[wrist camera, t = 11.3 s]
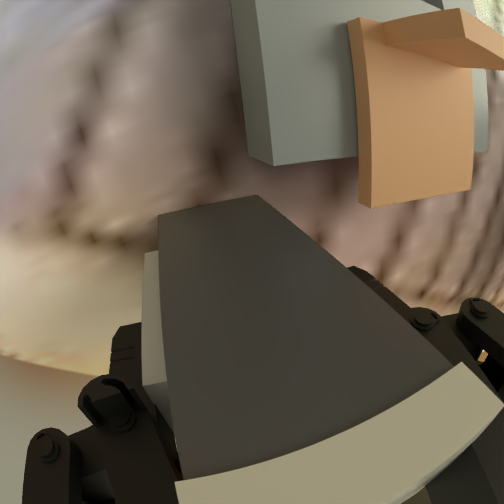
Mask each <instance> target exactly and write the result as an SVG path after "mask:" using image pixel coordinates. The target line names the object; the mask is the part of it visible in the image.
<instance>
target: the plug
mask: <svg viewBox="0 0 504 504" xmlns="http://www.w3.org/2000/svg"><path fill="white" fill-rule="evenodd" d="M158 262H159V290H160V309H161V324H162V336H163V348H164V358H165V368H166V376H167V385H168V393H169V400H170V407H171V414H172V420H173V427H174V433H175V439H176V444H177V450H178V455H179V460H180V465H181V470H182V475H183V479H184V480H183V481H177V482H175V487H176V492H177V497H178V501H179V504H401V503H402V502H404V501H405V500H407V499H408V498H410V497H411V496H413V495H414V494H416V493H417V492H418V491H420V490H421V489H422V488H423V487H425V485H427V484H428V483H429V482H430V481H432V480H433V479H434V478H435V477H436V476H437V475H439V474H440V473H441V472H442V471H443V470H444V469H445V468H447V467H448V466H449V465H450V464H451V463H452V462H453V461H454V460H455V459H456V458H457V457H458V456H459V455H460V454H461V453H462V452H463V451H464V450H465V449H466V448H467V447H468V446H469V445H470V444H471V443H472V442H473V441H475V440H476V439H477V438H478V436H479V435H480V434H481V433H482V432H483V431H484V430H485V429H486V428H487V426H488V425H489V424H490V423H491V422H492V421H493V419H494V418H495V417H496V416H497V415H498V413H499V412H500V411H501V410H502V408H503V407H504V404H503V402H502V401H501V400H500V399H499V398H498V397H497V396H496V395H495V394H494V393H493V392H492V391H491V390H490V389H489V388H488V387H487V386H486V385H485V384H484V383H483V382H482V381H481V380H480V379H479V378H478V377H477V376H476V375H475V374H474V373H473V372H472V371H471V370H470V369H469V368H468V367H467V366H466V365H465V364H464V363H462V362H460V363H459V364H458V365H456V366H455V367H454V366H453V365H452V364H451V363H450V362H449V361H448V360H447V359H446V358H445V357H444V356H443V355H442V354H441V353H440V352H439V351H438V350H437V349H436V348H435V347H434V346H433V345H432V344H431V343H430V342H428V341H427V340H426V339H425V338H424V337H423V336H422V335H421V334H420V333H419V332H418V331H417V330H416V329H415V328H414V327H412V326H411V325H410V324H409V323H408V322H407V321H406V320H405V319H404V318H403V317H402V316H401V315H399V314H398V313H397V312H396V311H395V310H394V309H393V308H392V307H391V306H390V305H388V304H387V303H386V302H385V301H384V300H383V299H382V298H381V297H379V296H378V295H377V294H376V293H375V292H374V291H373V290H372V289H370V288H369V287H368V286H367V285H366V284H365V283H364V282H362V281H361V280H360V279H359V278H358V277H357V276H355V275H354V274H353V273H352V272H351V271H350V270H349V269H347V268H346V267H345V266H344V265H343V264H341V263H340V262H339V261H338V260H337V259H336V258H334V257H333V256H332V255H331V254H330V253H328V252H327V251H326V250H325V249H324V248H322V247H321V246H320V245H319V244H318V243H316V242H315V241H314V240H313V239H312V238H310V237H309V236H308V235H307V234H306V233H304V232H303V231H302V230H301V229H299V228H298V227H297V226H296V225H294V224H293V223H292V222H291V221H290V220H288V219H287V218H286V217H285V216H283V215H282V214H281V213H280V212H278V211H277V210H276V209H275V208H273V207H272V206H271V205H269V204H268V203H267V202H266V201H264V200H263V199H262V198H261V197H259V196H258V195H254V196H248V197H243V198H238V199H233V200H227V201H222V202H217V203H213V204H208V205H203V206H198V207H193V208H189V209H184V210H180V211H175V212H171V213H166V214H162V215H158Z"/></svg>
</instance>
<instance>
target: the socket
mask: <svg viewBox="0 0 504 504" xmlns="http://www.w3.org/2000/svg"><path fill="white" fill-rule="evenodd" d="M230 3H231V11H232V19H233V28H234V36H235V44H236V52H237V61H238V69H239V78H240V86H241V95H242V103H243V112H244V121H245V130H246V138H247V147H248V156H250V157H253V158H255V159H258V160H260V161H262V162H265V163H267V164H270V165H272V166H279V165H286V164H293V163H301V162H309V161H318V160H327V159H336V158H347V157H358V156H359V151H358V124H357V107H356V94H355V82H354V72H353V63H352V54H351V47H350V39H349V32H348V26H347V21H349V20H352V19H355V18H358V17H362V18H367V19H371V20H375V21H379V22H387V21H391V20H395V19H399V18H403V17H408V16H412V15H417V14H422V13H428V12H433V11H439V10H446V9H453V8H461V9H462V10H464V11H466V12H467V13H469V14H471V15H472V16H474V17H475V18H477V16H476V12H475V8H474V4H473V0H230ZM471 72H472V83H473V99H474V152H488V96H487V81H486V71H485V69H478V68H471Z"/></svg>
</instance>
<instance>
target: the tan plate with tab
mask: <svg viewBox="0 0 504 504" xmlns="http://www.w3.org/2000/svg"><path fill="white" fill-rule="evenodd" d="M347 26H348V32H349V39H350V47H351V54H352V63H353V72H354V82H355V94H356V107H357V124H358V151H359V203H361V204H363V205H365V206H367V207H369V208H376V207H381V206H386V205H391V204H396V203H402V202H407V201H412V200H417V199H423V198H428V197H433V196H439V195H444V194H450V193H455V192H461V191H466V190H471V181H472V169H473V153H474V99H473V83H472V72H471V68H478V69H492V70H503V71H504V37H503V36H501V35H500V34H499V33H497V32H496V31H495V30H493V29H492V28H490V27H489V26H487V25H486V24H484V23H483V22H482V21H480V20H478V19H477V18H475V17H474V16H472V15H471V14H469V13H467V12H466V11H464V10H462V9H461V8H453V9H446V10H439V11H433V12H428V13H422V14H417V15H412V16H408V17H403V18H399V19H395V20H391V21H387V22H379V21H375V20H371V19H367V18H362V17H358V18H355V19H352V20H349V21H347Z"/></svg>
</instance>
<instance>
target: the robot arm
mask: <svg viewBox="0 0 504 504" xmlns="http://www.w3.org/2000/svg"><path fill="white" fill-rule="evenodd" d="M347 269H349V270H350V271H351V272H352V273H353V274H354V275H355V276H357V277H358V278H359V279H360V280H361V281H362V282H364V283H365V284H366V285H367V286H368V287H369V288H370V289H372V290H373V291H374V292H375V293H376V294H377V295H378V296H379V297H381V298H382V299H383V300H384V301H385V302H386V303H387V304H388V305H390V306H391V307H392V308H393V309H394V310H395V311H396V312H397V313H398V314H399V315H401V316H402V317H403V318H404V319H405V320H406V321H407V322H408V323H409V324H410V325H411V326H412V327H414V328H415V329H416V330H417V331H418V332H419V333H420V334H421V335H422V336H423V337H424V338H425V339H426V340H427V341H428V342H430V343H431V344H432V345H433V346H434V347H435V348H436V349H437V350H438V351H439V352H440V353H441V354H442V355H443V356H444V357H445V358H446V359H447V360H448V361H449V362H450V363H451V364H452V365H453V366H454V367H455V366H456V365H458V364H459V363H460V362H462V363H464V364H465V365H466V366H467V367H468V368H469V369H470V370H471V371H472V372H473V373H474V374H475V375H476V376H477V377H478V378H479V379H480V380H481V381H482V382H483V383H484V384H485V385H486V386H487V387H488V388H489V389H490V390H491V391H492V392H493V393H494V394H495V395H496V396H497V397H498V398H499V399H500V400H501V401H502V402H503V404H504V313H503V312H501V311H500V310H499V309H497V308H496V307H495V306H493V305H492V304H491V303H489V302H487V301H485V300H483V299H480V298H468V299H465V300H464V301H463V302H462V304H461V307H460V310H459V313H457V314H452V315H447V316H442V317H441V316H440V315H439V314H437V313H436V312H435V311H432V310H430V309H428V308H422V307H416V308H410V307H409V306H408V305H407V304H405V303H404V302H403V301H402V300H401V299H399V298H398V297H397V296H396V295H395V294H394V293H392V292H391V291H390V290H389V289H388V288H386V287H384V286H383V284H381V283H380V282H379V281H378V280H377V281H376V279H375V278H374V277H373V276H372V275H371V274H369V273H368V272H367V271H365V270H362V269H360V268H357V267H355V266H351V267H348V268H347ZM483 350H485V351H486V352H487V353H488V356H487V358H486V359H485V361H484V362H480V361H478V358H479V356H480V354H481V353H482V351H483ZM111 352H112V353H111V358H110V362H111V363H110V369H109V374H107V375H101V376H99V377H97V378H95V379H93V380H91V381H90V382H89V383H88V384H87V385H86V386H85V387H84V388H83V389H82V392H81V393H80V395H79V397H78V407H79V409H80V410H81V411H82V412H83V413H84V415H86V417H87V418H88V419H89V420H90V421H91V423H92V424H93V425H92V426H90V427H88V428H86V429H84V430H81V431H79V432H76V433H74V434H71V435H69V436H67V435H66V434H65V433H63V432H62V431H61V430H59V429H56V428H46V429H43V430H41V431H39V432H38V433H36V434H35V435H34V437H33V438H32V439H31V441H30V444H29V446H28V450H27V457H26V464H25V473H24V483H23V496H22V504H179V501H178V497H177V492H176V487H175V482H177V481H183V480H184V479H183V475H182V470H181V465H180V460H179V455H178V452H177V448H176V443H175V433H174V427H173V420H172V414H171V407H170V400H169V393H168V385H167V376H166V368H165V358H164V348H163V336H162V324H161V309H160V290H159V262H158V250H157V251H152V252H148V253H145V258H144V273H143V293H142V322H139V323H135V324H130V325H125V326H120V327H119V329H118V330H117V332H116V334H115V335H114V337H113V339H112V348H111ZM425 487H426V489H427V492H428V495H429V497H430V500H431V503H432V504H504V407H503V408H502V410H501V411H500V412H499V413H498V415H497V416H496V417H495V418H494V419H493V421H492V422H491V423H490V424H489V425H488V426H487V428H486V429H485V430H484V431H483V432H482V433H481V434H480V435H479V436H478V438H477V439H476V440H475V441H473V442H472V443H471V444H470V445H469V446H468V447H467V448H466V449H465V450H464V451H463V452H462V453H461V454H460V455H459V456H458V457H457V458H456V459H455V460H454V461H453V462H452V463H451V464H450V465H449V466H448V467H447V468H445V469H444V470H443V471H442V472H441V473H440V474H439V475H437V476H436V477H435V478H434V479H433V480H432V481H430V482H429V483H428V484H427V485H425Z"/></svg>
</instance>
